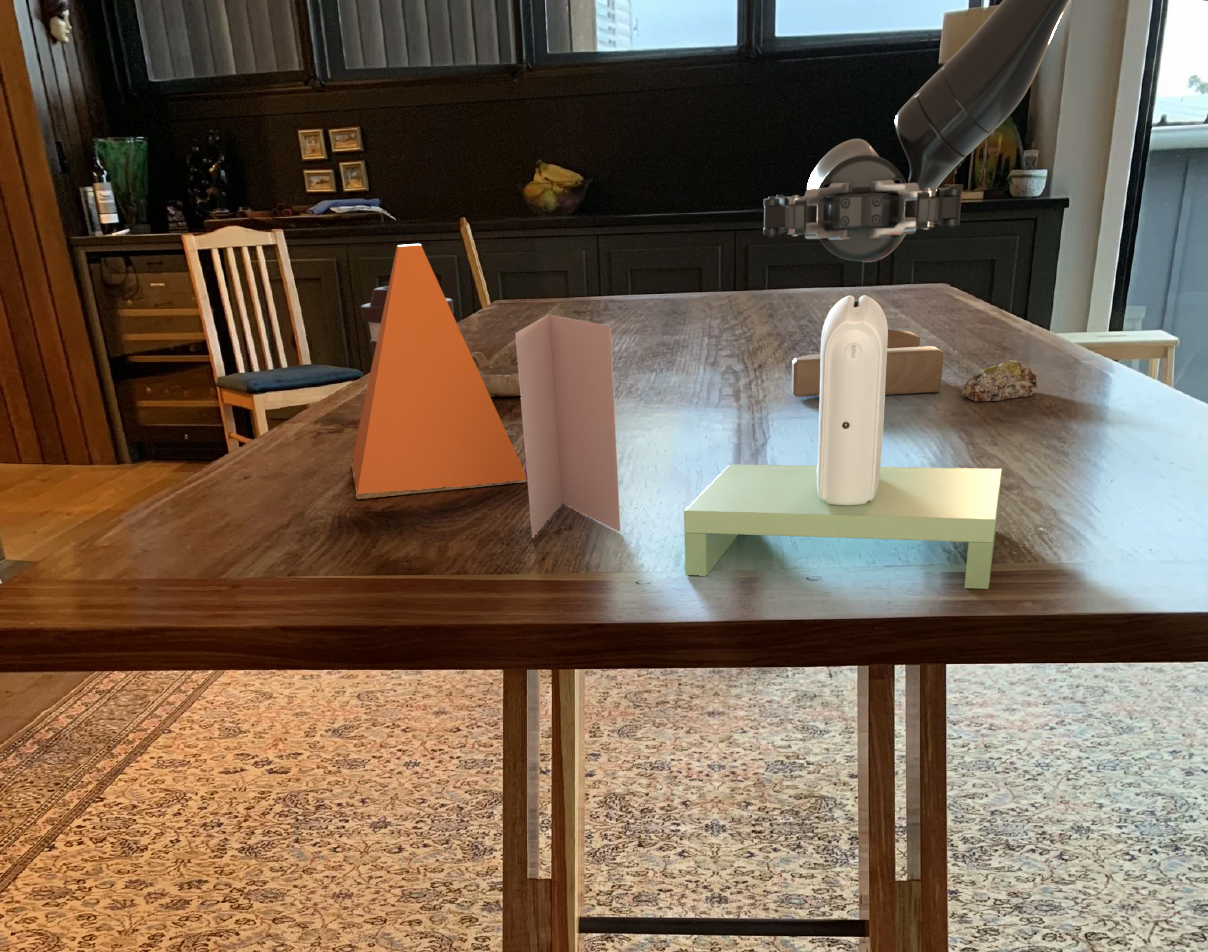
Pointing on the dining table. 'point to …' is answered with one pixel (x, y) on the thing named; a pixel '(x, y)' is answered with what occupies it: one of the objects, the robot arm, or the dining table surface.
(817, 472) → the photo printer
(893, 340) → the wooden block set
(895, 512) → the shelf
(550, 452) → the greeting card
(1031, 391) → the mineral rock
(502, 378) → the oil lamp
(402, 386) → the pyramid
